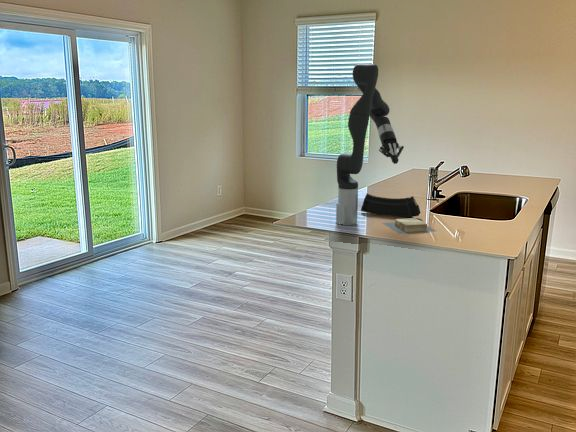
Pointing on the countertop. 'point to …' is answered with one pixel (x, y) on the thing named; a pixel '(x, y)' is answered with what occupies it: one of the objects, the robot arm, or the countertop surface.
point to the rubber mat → (400, 231)
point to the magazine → (391, 206)
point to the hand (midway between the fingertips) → (396, 162)
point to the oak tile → (411, 224)
